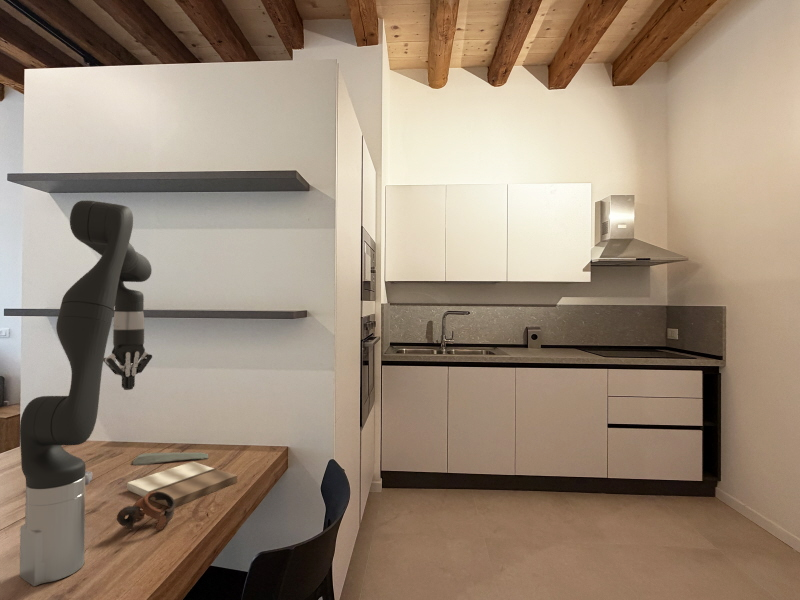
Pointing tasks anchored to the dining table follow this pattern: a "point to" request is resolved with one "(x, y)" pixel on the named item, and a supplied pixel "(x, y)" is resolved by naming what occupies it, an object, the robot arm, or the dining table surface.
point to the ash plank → (165, 478)
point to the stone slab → (166, 457)
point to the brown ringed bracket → (147, 511)
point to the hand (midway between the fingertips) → (128, 389)
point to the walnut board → (196, 486)
